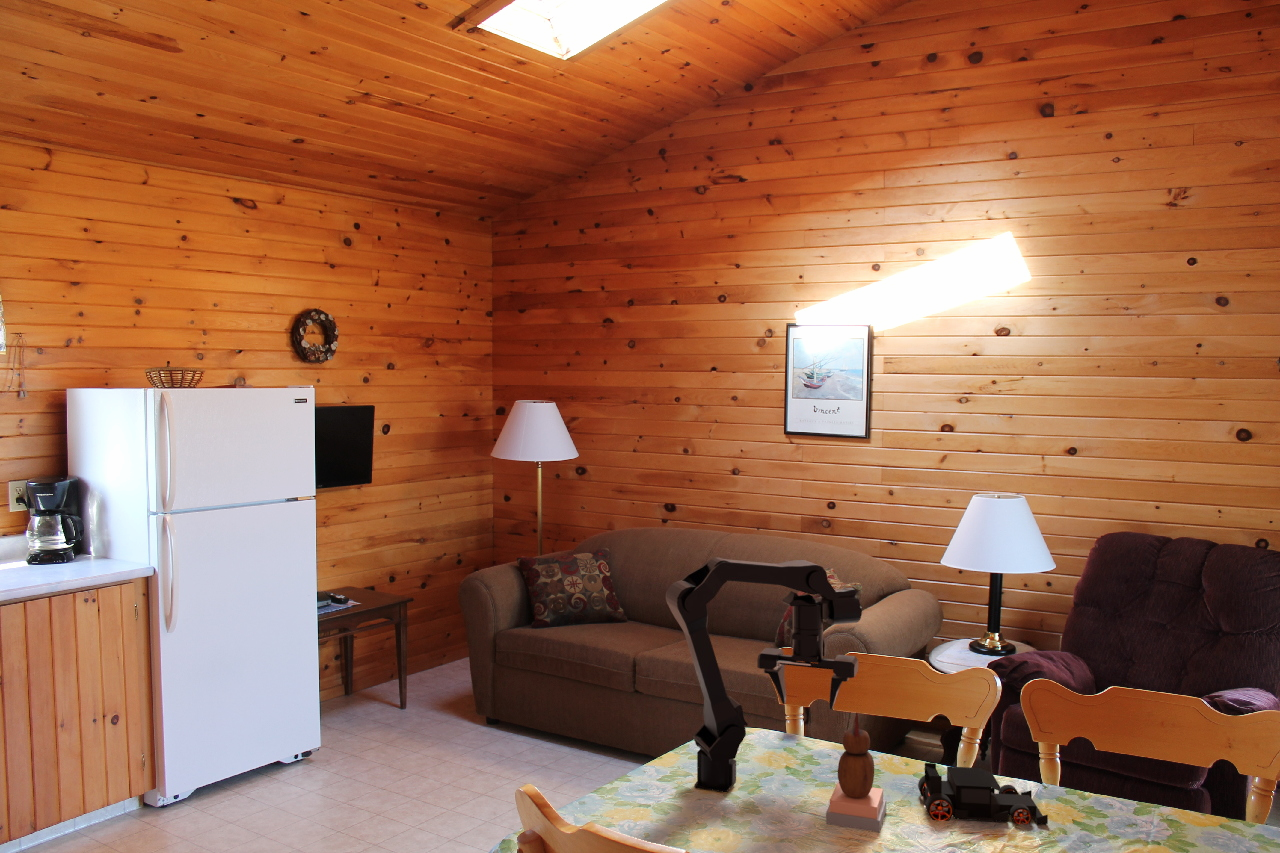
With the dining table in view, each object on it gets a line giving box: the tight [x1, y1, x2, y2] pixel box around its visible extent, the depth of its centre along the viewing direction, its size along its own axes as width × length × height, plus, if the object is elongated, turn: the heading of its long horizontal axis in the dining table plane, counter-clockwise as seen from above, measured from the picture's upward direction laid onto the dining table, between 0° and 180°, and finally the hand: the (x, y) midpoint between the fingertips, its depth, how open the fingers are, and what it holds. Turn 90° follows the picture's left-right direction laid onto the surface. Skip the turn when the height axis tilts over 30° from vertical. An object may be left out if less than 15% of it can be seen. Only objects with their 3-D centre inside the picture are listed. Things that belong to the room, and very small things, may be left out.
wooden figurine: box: [837, 712, 875, 798], centre depth 167 cm, size 7×6×15 cm
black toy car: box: [917, 762, 1049, 825], centre depth 170 cm, size 10×20×7 cm, turn 83°
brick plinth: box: [825, 781, 887, 833], centre depth 168 cm, size 9×9×4 cm
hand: (807, 706), depth 187 cm, fingers open, 9 cm apart
